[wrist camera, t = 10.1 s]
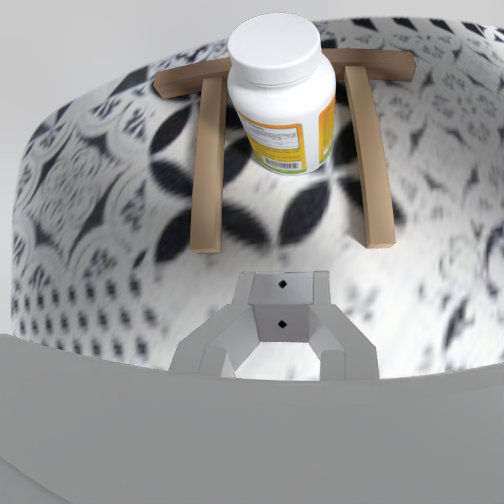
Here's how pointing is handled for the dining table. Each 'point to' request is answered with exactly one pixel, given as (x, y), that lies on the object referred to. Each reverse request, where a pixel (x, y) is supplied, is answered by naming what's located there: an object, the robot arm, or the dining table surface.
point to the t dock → (363, 119)
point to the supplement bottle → (283, 91)
